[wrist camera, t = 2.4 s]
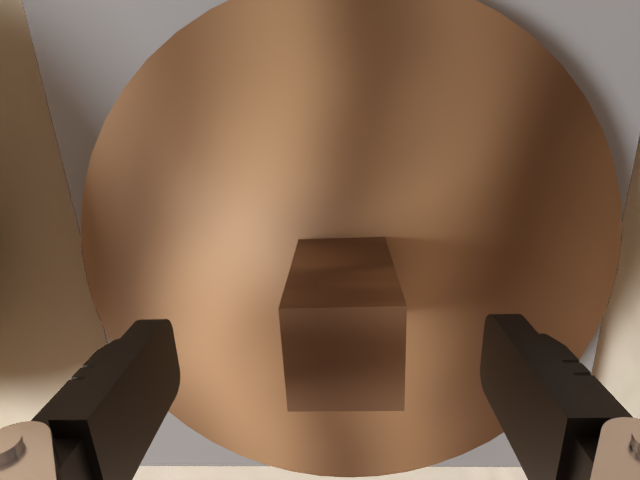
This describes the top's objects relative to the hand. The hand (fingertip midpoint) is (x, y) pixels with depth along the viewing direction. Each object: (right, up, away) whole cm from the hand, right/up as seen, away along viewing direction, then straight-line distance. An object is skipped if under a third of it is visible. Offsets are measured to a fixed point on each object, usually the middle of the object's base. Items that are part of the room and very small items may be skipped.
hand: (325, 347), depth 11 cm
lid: (+1, +2, +5) cm, 6 cm away
